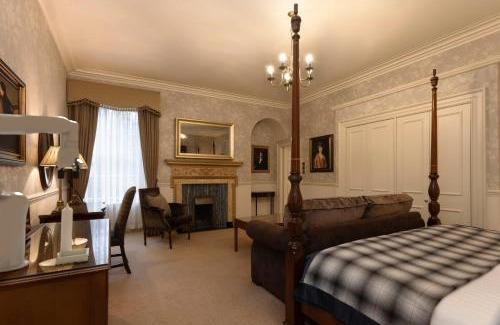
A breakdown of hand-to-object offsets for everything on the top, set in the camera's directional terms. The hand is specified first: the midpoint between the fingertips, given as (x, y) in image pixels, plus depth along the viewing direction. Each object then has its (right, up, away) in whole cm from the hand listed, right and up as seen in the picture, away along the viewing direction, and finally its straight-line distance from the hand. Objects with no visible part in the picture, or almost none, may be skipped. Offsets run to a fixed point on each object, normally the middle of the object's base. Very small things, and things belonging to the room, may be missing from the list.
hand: (68, 178), depth 136 cm
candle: (+3, -37, -5) cm, 37 cm away
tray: (+11, -36, -13) cm, 40 cm away
